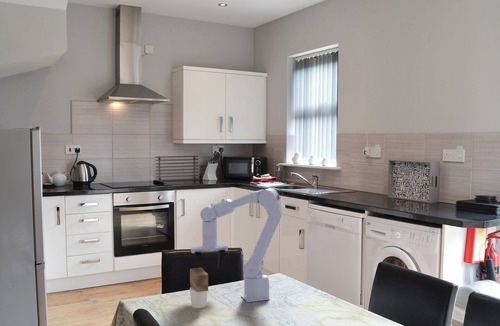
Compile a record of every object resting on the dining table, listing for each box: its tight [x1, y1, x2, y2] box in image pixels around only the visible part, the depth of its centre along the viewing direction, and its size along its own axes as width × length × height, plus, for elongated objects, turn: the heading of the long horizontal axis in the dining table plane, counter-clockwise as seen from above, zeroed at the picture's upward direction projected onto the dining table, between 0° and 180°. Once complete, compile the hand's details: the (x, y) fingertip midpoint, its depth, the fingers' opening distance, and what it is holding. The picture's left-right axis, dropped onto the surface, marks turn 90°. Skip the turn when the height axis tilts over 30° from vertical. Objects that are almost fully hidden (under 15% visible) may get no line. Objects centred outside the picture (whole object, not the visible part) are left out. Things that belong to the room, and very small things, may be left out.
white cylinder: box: [189, 285, 209, 309], centre depth 169 cm, size 7×7×7 cm
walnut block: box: [189, 267, 209, 292], centre depth 168 cm, size 4×10×6 cm, turn 20°
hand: (209, 269), depth 180 cm, fingers open, 7 cm apart
